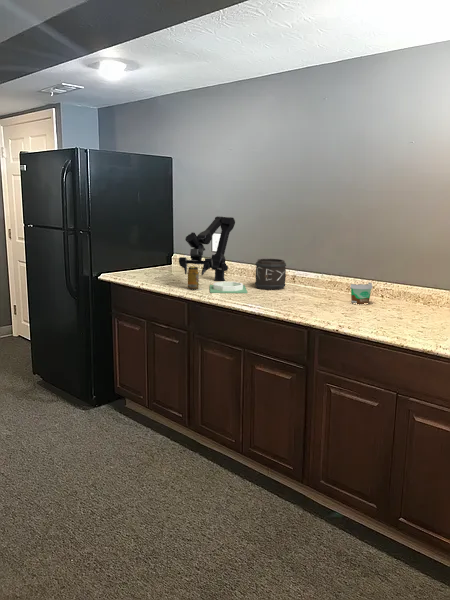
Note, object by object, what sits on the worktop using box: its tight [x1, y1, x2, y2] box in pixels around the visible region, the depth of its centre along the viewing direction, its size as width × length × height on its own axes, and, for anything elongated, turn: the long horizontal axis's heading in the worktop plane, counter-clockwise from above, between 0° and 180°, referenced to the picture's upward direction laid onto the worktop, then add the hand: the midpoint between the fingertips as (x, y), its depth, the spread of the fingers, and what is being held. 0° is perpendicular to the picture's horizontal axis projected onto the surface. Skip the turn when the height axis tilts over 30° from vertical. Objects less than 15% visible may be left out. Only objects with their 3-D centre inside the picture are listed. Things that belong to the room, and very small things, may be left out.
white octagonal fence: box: [213, 281, 244, 291], centre depth 288 cm, size 16×16×2 cm
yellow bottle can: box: [185, 266, 203, 291], centre depth 287 cm, size 7×8×12 cm
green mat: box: [209, 284, 248, 294], centre depth 288 cm, size 22×20×1 cm
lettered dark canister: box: [254, 258, 287, 291], centre depth 293 cm, size 18×18×16 cm
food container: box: [349, 282, 374, 304], centre depth 254 cm, size 12×6×10 cm, turn 117°
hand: (193, 274), depth 287 cm, fingers open, 9 cm apart
